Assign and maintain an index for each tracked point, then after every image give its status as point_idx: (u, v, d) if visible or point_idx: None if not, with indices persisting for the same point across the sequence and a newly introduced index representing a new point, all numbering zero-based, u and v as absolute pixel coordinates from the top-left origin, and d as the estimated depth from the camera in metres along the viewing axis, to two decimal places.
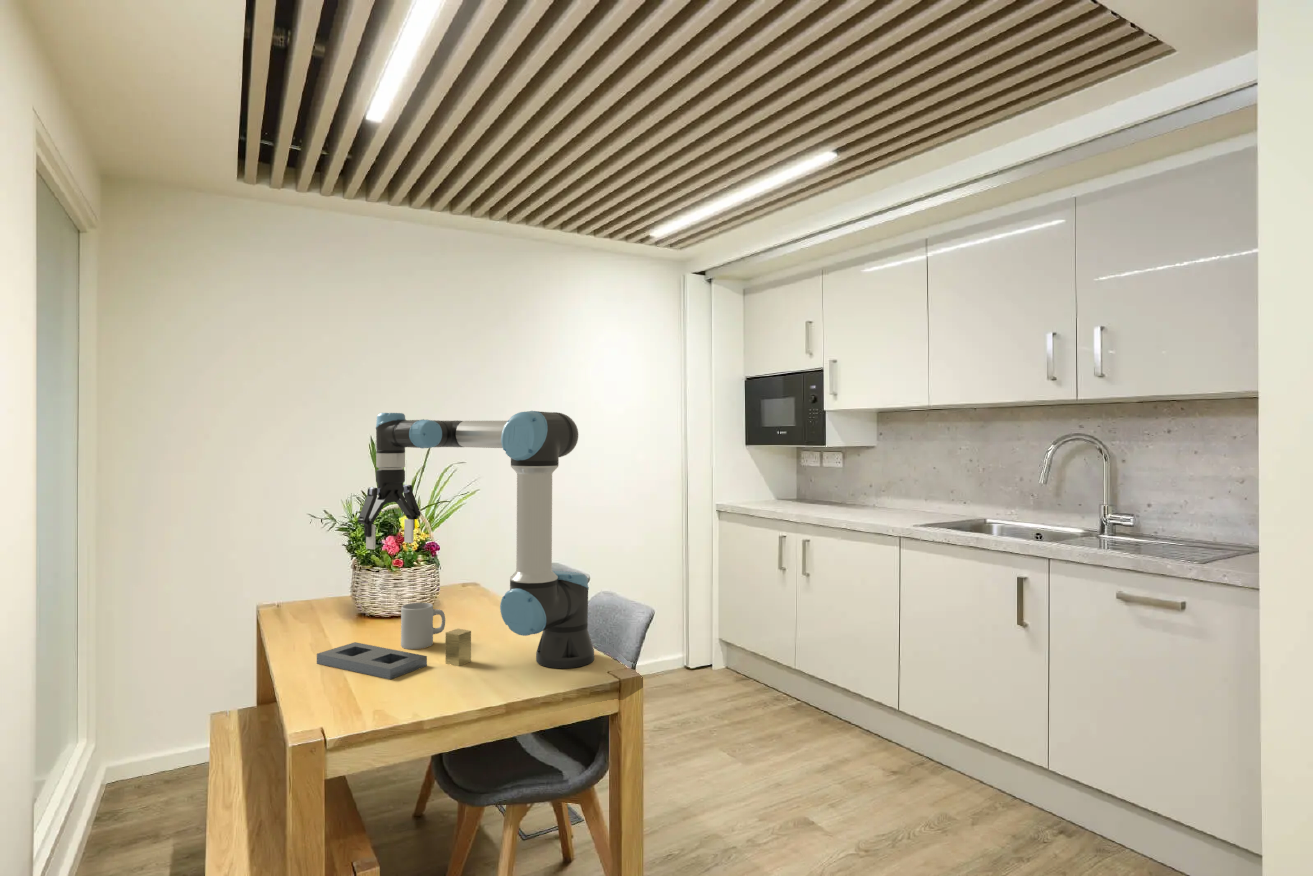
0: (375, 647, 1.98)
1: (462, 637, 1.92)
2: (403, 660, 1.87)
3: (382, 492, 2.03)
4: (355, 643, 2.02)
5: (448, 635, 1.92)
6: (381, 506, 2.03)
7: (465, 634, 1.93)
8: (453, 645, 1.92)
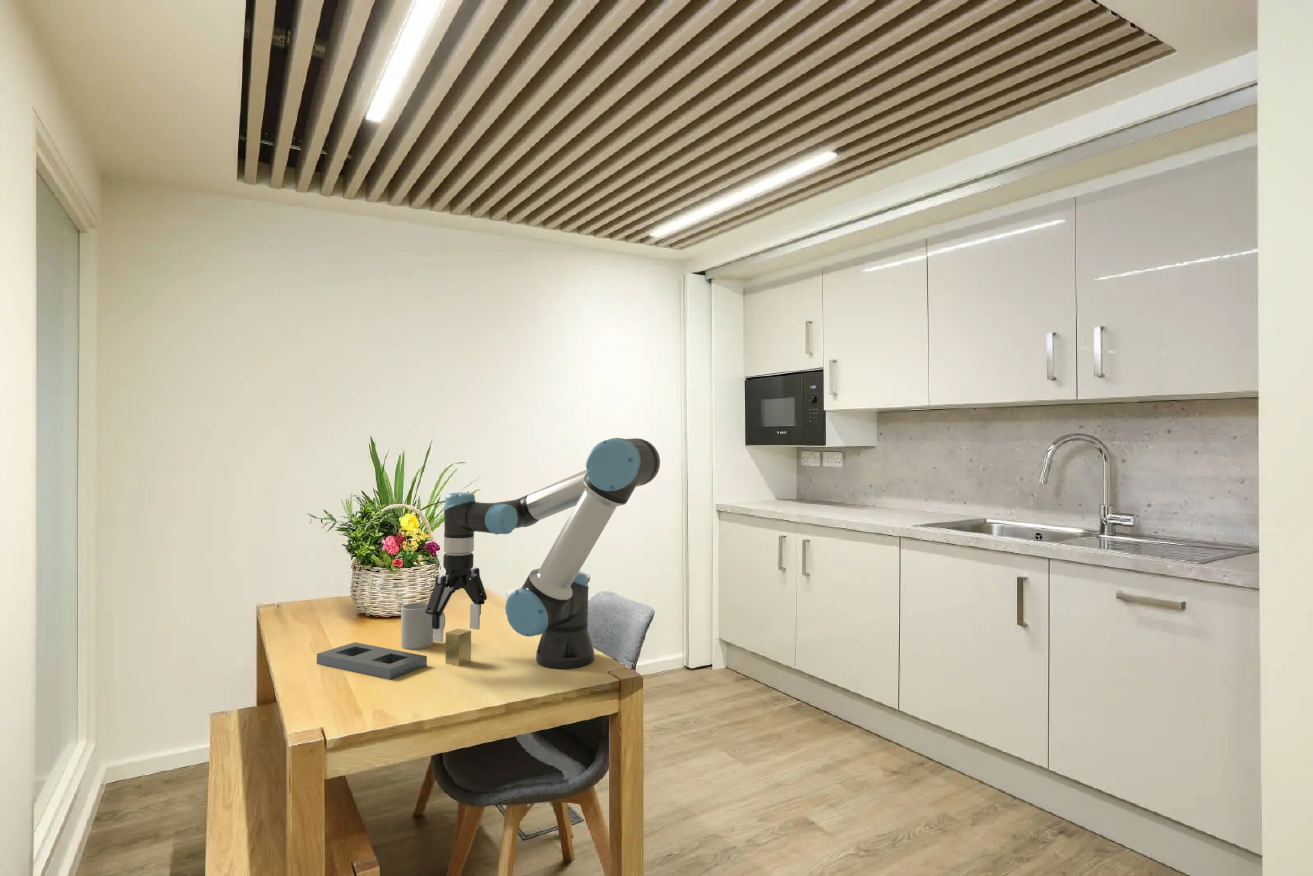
0: (375, 647, 1.98)
1: (462, 637, 1.92)
2: (403, 660, 1.87)
3: (450, 580, 1.90)
4: (355, 643, 2.02)
5: (449, 635, 1.92)
6: (449, 595, 1.90)
7: (465, 634, 1.93)
8: (454, 645, 1.92)
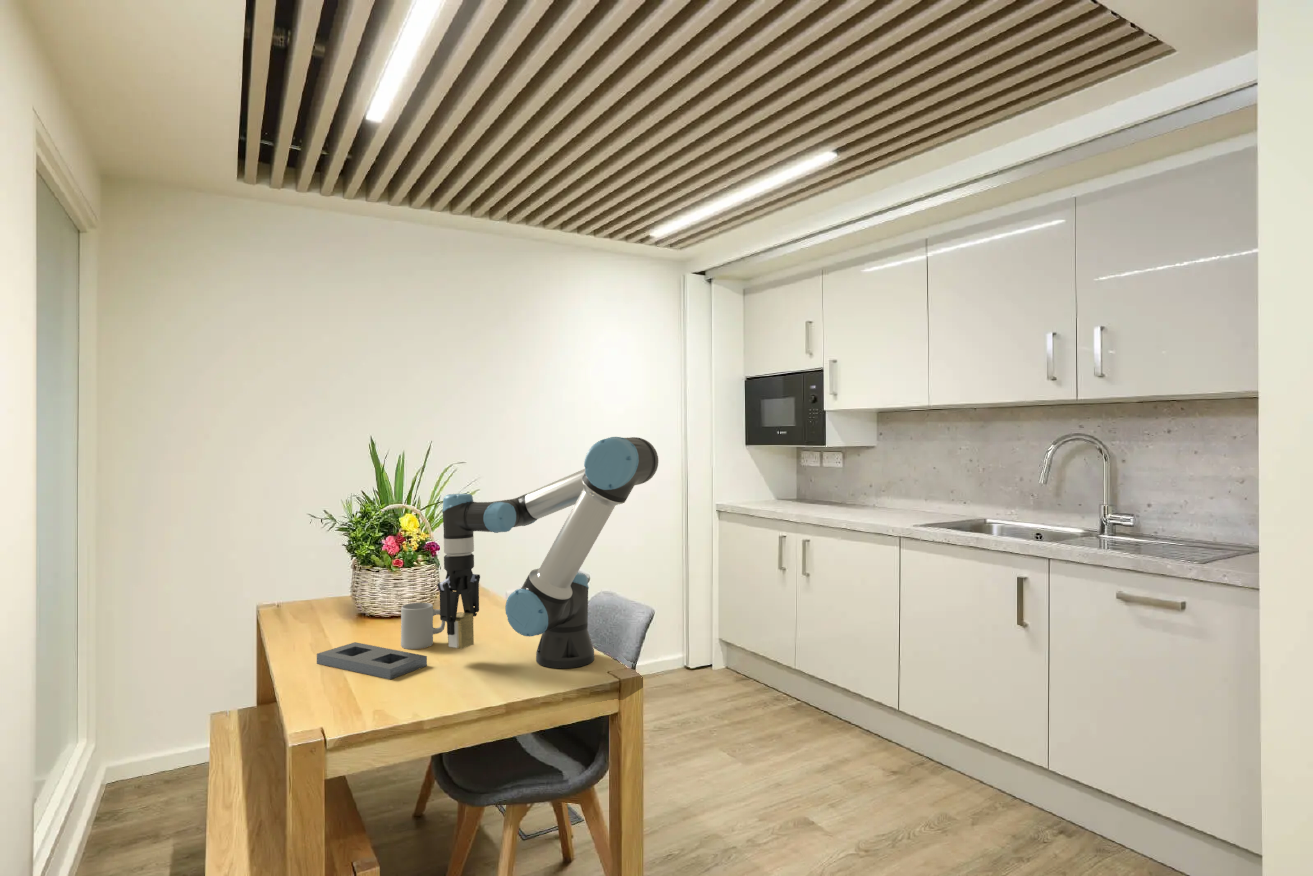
0: (375, 647, 1.98)
1: (464, 620, 1.92)
2: (403, 660, 1.87)
3: (453, 581, 1.90)
4: (355, 643, 2.02)
5: None
6: (457, 598, 1.91)
7: (467, 617, 1.93)
8: None
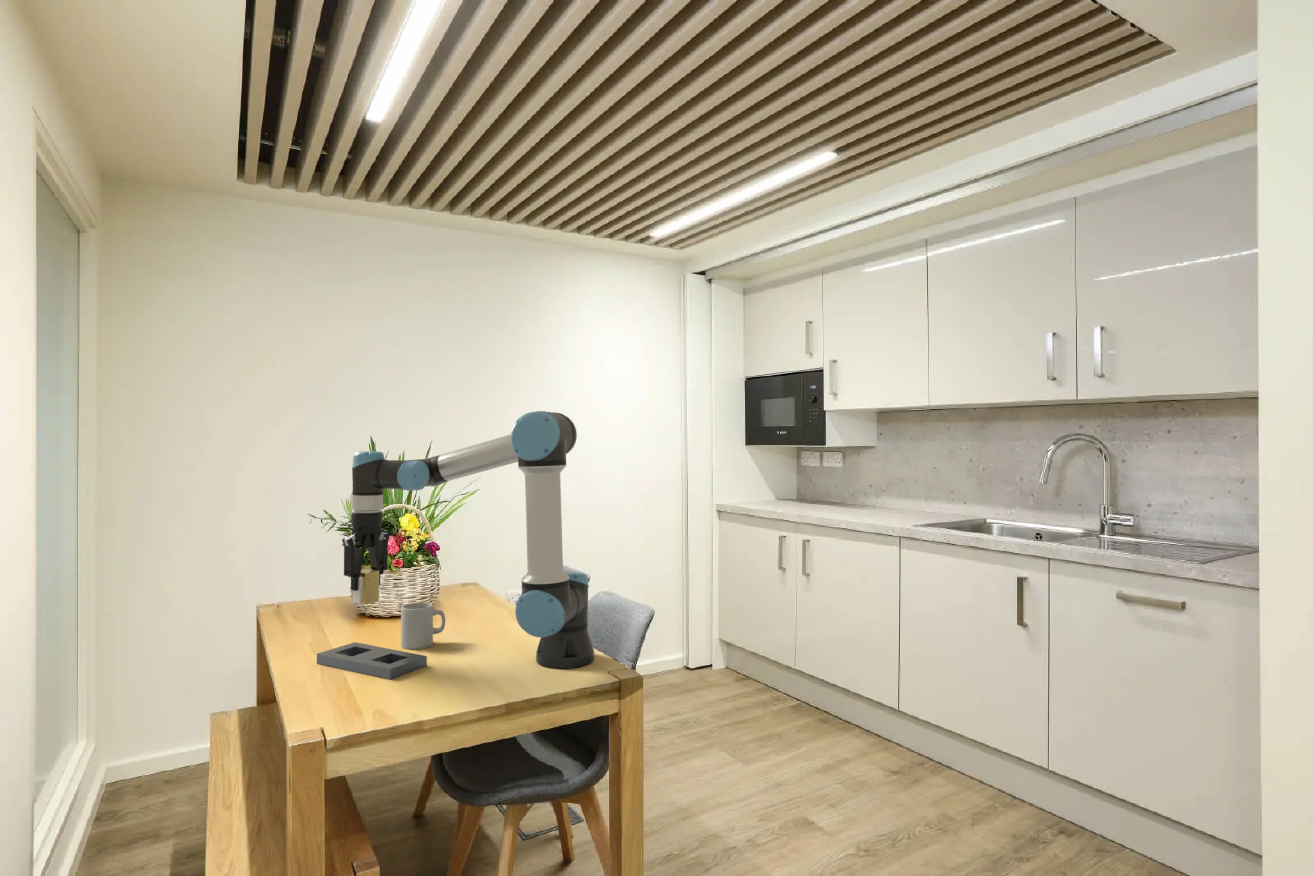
0: (375, 647, 1.98)
1: (369, 576, 1.92)
2: (403, 660, 1.87)
3: (358, 538, 1.91)
4: (355, 643, 2.02)
5: None
6: (362, 555, 1.92)
7: (372, 573, 1.93)
8: None
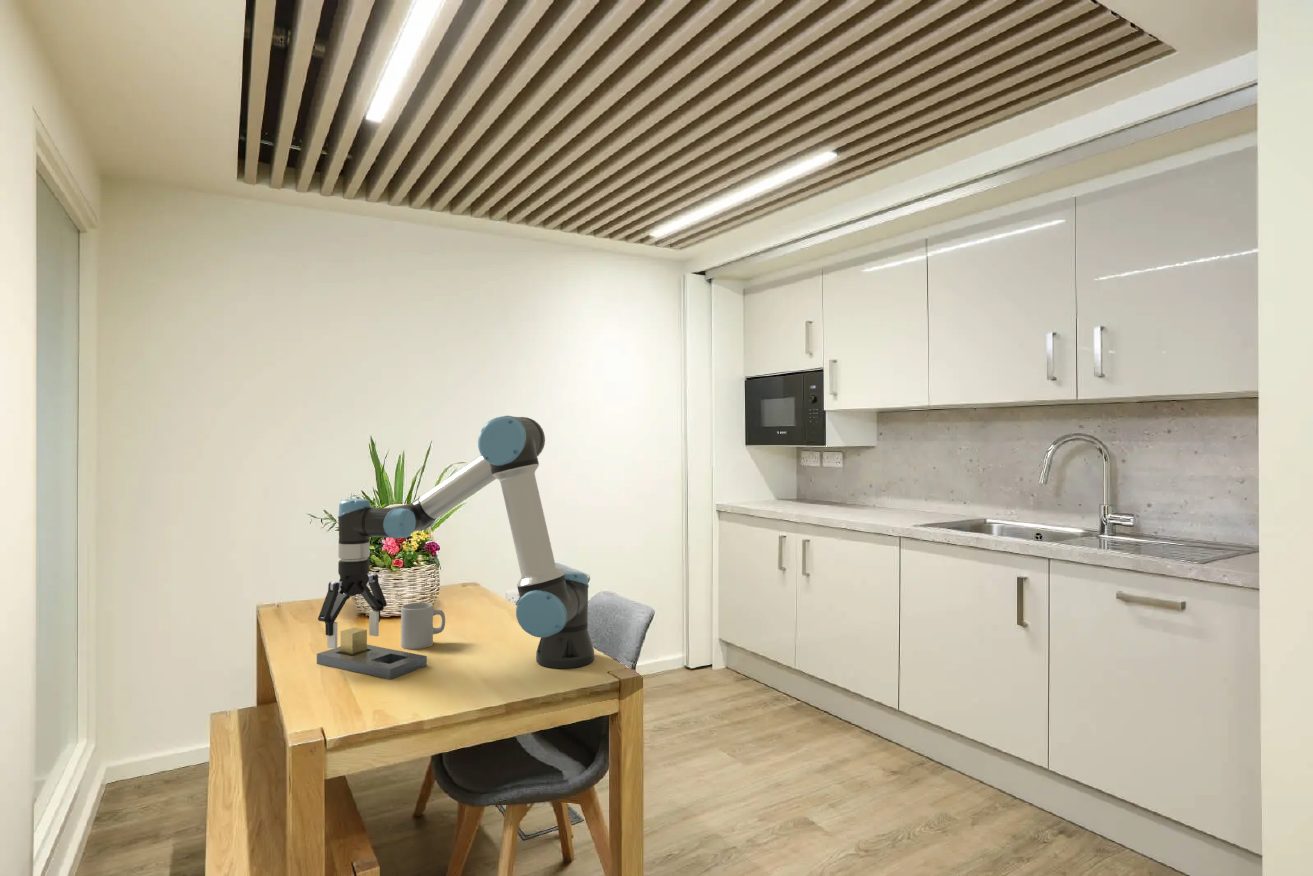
0: (375, 647, 1.98)
1: (356, 636, 1.92)
2: (403, 660, 1.87)
3: (344, 586, 1.91)
4: None
5: (343, 634, 1.93)
6: (343, 601, 1.90)
7: (360, 633, 1.93)
8: (348, 643, 1.92)
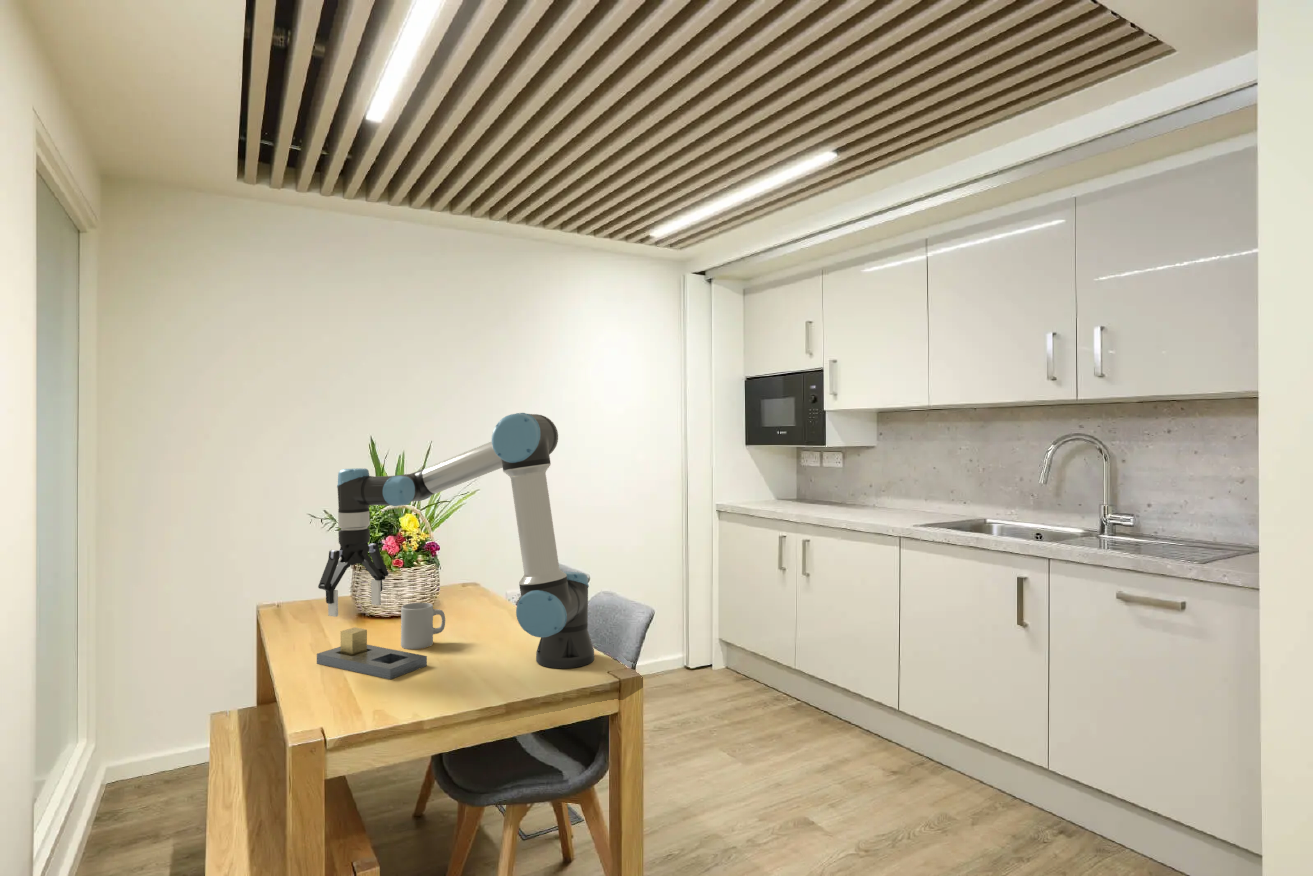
0: (375, 647, 1.98)
1: (356, 636, 1.92)
2: (403, 660, 1.87)
3: (345, 554, 1.91)
4: None
5: (343, 634, 1.93)
6: (344, 569, 1.90)
7: (360, 633, 1.93)
8: (347, 643, 1.92)
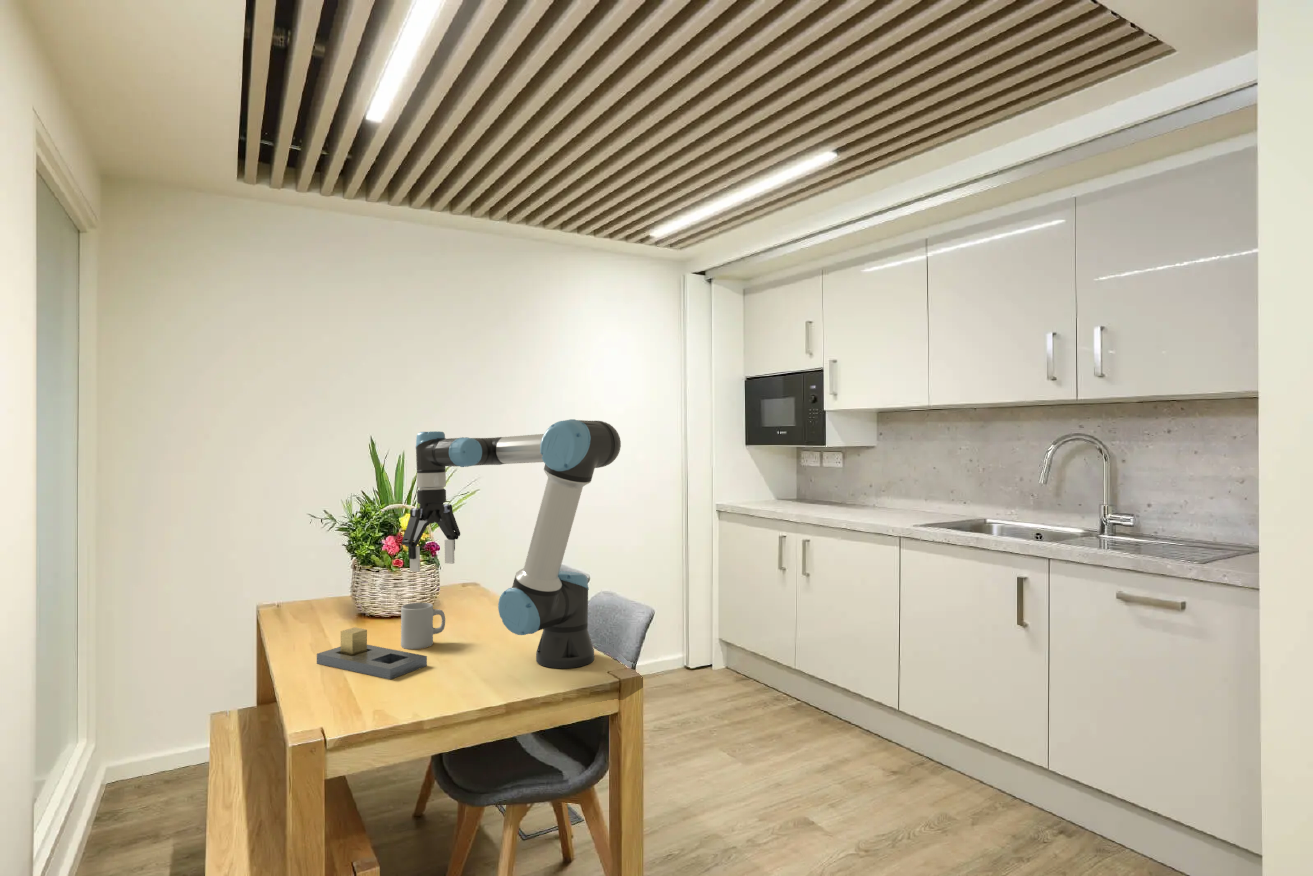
0: (375, 647, 1.98)
1: (356, 636, 1.92)
2: (403, 660, 1.87)
3: (425, 513, 1.99)
4: None
5: (343, 634, 1.93)
6: (424, 527, 1.99)
7: (360, 633, 1.93)
8: (348, 643, 1.92)
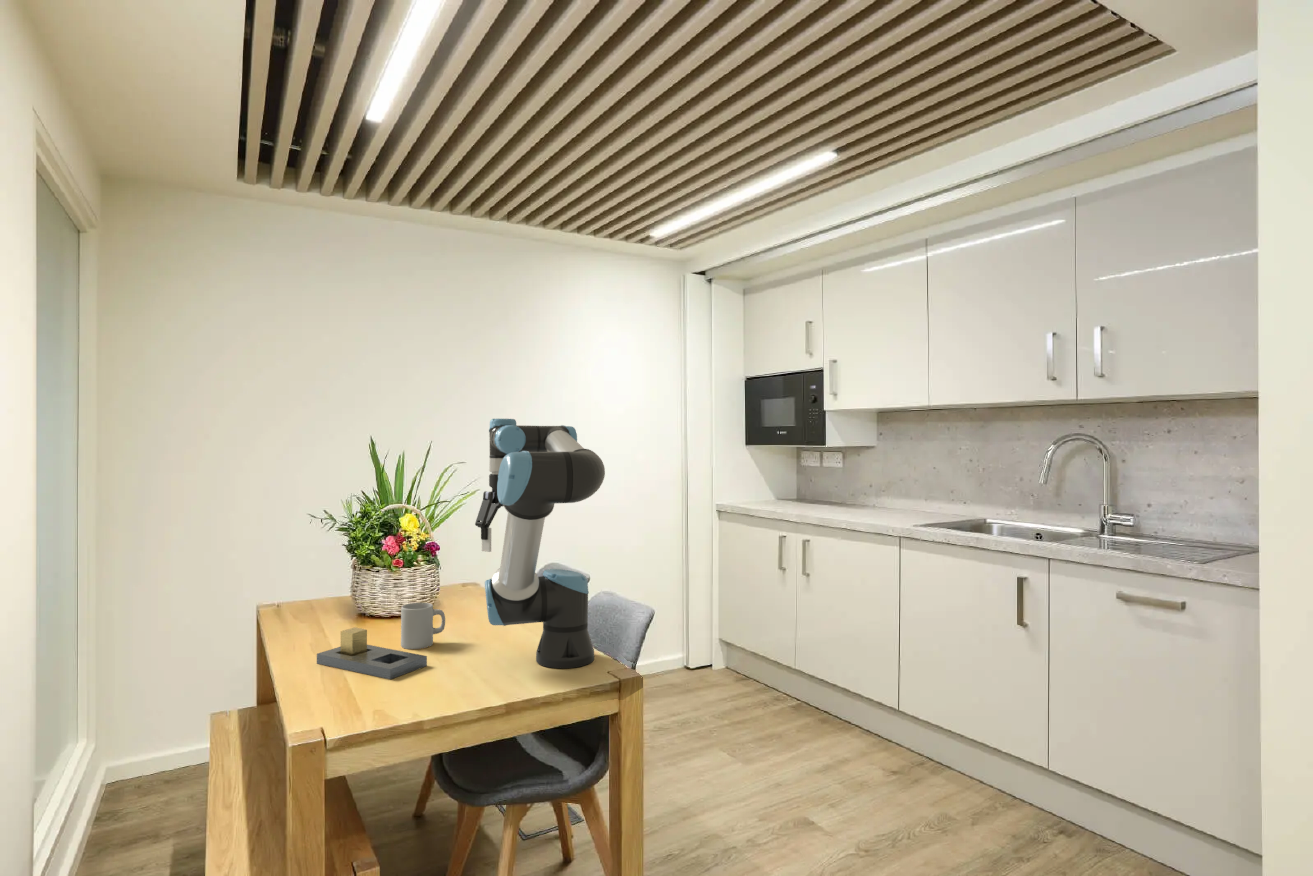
0: (375, 647, 1.98)
1: (356, 636, 1.92)
2: (403, 660, 1.87)
3: (496, 496, 2.08)
4: None
5: (343, 634, 1.93)
6: (496, 510, 2.08)
7: (360, 633, 1.93)
8: (348, 643, 1.92)
